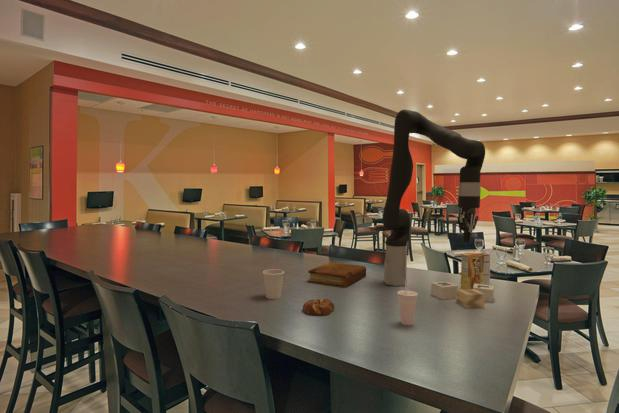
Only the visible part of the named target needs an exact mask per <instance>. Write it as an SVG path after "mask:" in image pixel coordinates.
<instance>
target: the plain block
mask: <svg viewBox="0 0 619 413" xmlns="http://www.w3.org/2000/svg"><path fill="white" fill-rule="evenodd" d="M455 299H456V300H455V302H456V303H457V304H459V305H460V306H462V307H463V308H465V309H477V308H483V307H484V308H485V305H486V304H485V303H486V302H485V294H483V293H481V292H479V291H477V290H475V289H459V288H458V289H457V294H456V298H455Z"/></svg>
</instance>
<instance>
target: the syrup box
mask: <svg viewBox="0 0 619 413" xmlns="http://www.w3.org/2000/svg"><path fill="white" fill-rule="evenodd" d="M476 252H477V253H482V254H484V266H483V285H491V253H490V252H488V251H486V250H475V251H474V252H473V253H476Z"/></svg>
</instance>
